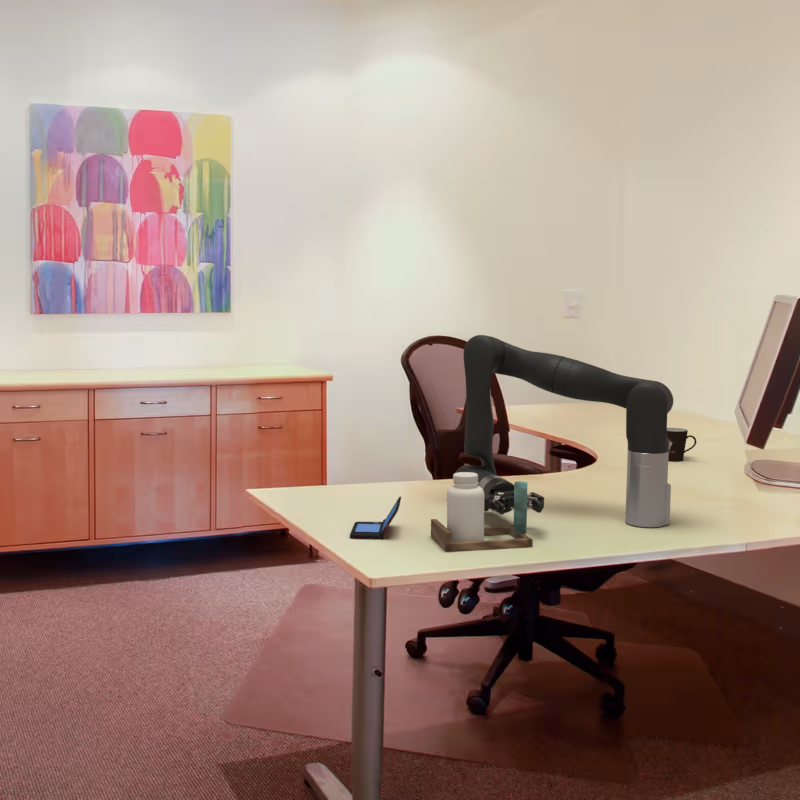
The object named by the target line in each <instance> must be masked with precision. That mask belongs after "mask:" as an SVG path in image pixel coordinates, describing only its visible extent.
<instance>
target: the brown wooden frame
mask: <svg viewBox="0 0 800 800" xmlns="http://www.w3.org/2000/svg"><path fill="white" fill-rule="evenodd" d="M513 484H514V509H513V525H500V526H484V537H486V536H487V537H488V536H502V535H504V536H505V535H510V536H511V537H512V538H508V539H505V538H504V539H494V540H493V539H492V540H491V539H489V540H487V539H486V540H484V541H469V542H452V532H451V531H449V530H448V529H447V526H445V525H444V524H442V522H441V521H439V519H437V518H433V519H432V518H431V519H430V538H431V539H432V540H433V541H434V542H435V543H437V545H438V546H439V547H441V549H443V551H445V553H450V552H467V551H468V552H469V551H483V550H484V551H485V550H501V549H505V550H506V549H518V548H533V547H534V546H533V543H534V542H533V541H534V540H533V538H531V537H530V536H529V535H527V530H528V528H527V527H528V524H527V523H528V522H527V521H528V519H527V518H528V509H527V494H528V482H527V481H514V483H513Z"/></svg>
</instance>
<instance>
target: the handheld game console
mask: <svg viewBox="0 0 800 800" xmlns="http://www.w3.org/2000/svg"><path fill="white" fill-rule="evenodd" d="M401 500H402V496H399V497H398V498H397V500H396V501H395V503H394V505H393V506H392V508H391V510H390V511H389V513H388V514H387V516H386V518H384V519H382V521H355V522H354V524H353V526H352V529H351V531H350V533H349V538H350V539H351V540H384V537H385V532H386V531H387V529H388V527H389V526H390V524H391V522H392V521H393V519H394V518H395V516H396V515H397V514H398V512H399V509H400V506H401V505H400V504H401Z"/></svg>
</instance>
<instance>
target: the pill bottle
mask: <svg viewBox="0 0 800 800" xmlns="http://www.w3.org/2000/svg"><path fill="white" fill-rule="evenodd" d="M452 481H453V485H452V486H450V487H449V488H448V489H447V494H446V528H447V529H448V530H449V531H451V532H452V542H469V541H485V536H484V527H485V511H484V491H483V489H482V488H481V487H479V486H477V484H478V482H477V481H478V474H476V473H472V472H459V473H456V472H454V473H453V475H452Z"/></svg>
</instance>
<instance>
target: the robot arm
mask: <svg viewBox="0 0 800 800" xmlns="http://www.w3.org/2000/svg"><path fill="white" fill-rule="evenodd" d="M463 366H464V367H463V368H464V376H465V377H464V378H465V394H466V395H465V396H466V397H465V398H466V399H465V400H466V407H465V408H466V411H465V412H466V415H465V426H464V427H465V429H464V445H463V448H464V449H463V451H464V454H466V455H467V456H471V457H475V458H478V459H479V461H480V462H481V465H462V466H460V467H459V468H458V469H457V470H456V471H455V473H459V472H472V473H476V474H478V481H477V482H478V484H477V486H479V487H481V488H482V489H483V491H484V512H488V511H489V510H491V512H496V513H498V514H499V515H505V514H507V513H509V512H512V511H514V483H513V482H511V481H509V480H507V479H506V478H503V477H501V476H499V475H497V470H496V466H495V465H496V464H495V461H494V453H493V441H494V429H495V428H494V424H495V423H494V415H493V407H492V400H491V381H492V376H493V374H497V375H503V376H507V377H512V378H516V379H520V380H522V381H524V382H527V383H528V384H531V385H533V386H535V387H537V388H539V389H541V390H544V391H546V392H549V393H552V394H555V395H558V396H562V397H565V398H568V399H573V400H579V401H587V402H597V403H606V404H610V405H614V406H618V407H620V408H623V409H625V412H626V413H625V416H626V417H625V436H626V441H627V459H626V463H627V464H626V486H625V487H626V488H625V489H626V490H625V512H624V515H625V519H624V520H625V523H626V524H628V525H631V526H635V527H642V528H659V527H661V528H662V527H664V526H667V525H668V526H669V525H670V524H671V523H670V521H671V518H670V516H671V495H672V494H671V493H672V485H671V484H670V483H668V480H669V479H668V477H669V476H668V474H669V461H668V454H669V452H668V451H669V440H668V437H667V428H668V414H669V413H670V411H671V410H672V408H673V405H674V395H673V393H672V391H671V390H670V388H669V387H668V386H667V385H665V384H664V383H662V382H660V381H657V380H651V379H644V378H638V377H632V376H626V375H623V374H619V373H616V372H612V371H610V370H607V369H604V368H602V367H599V366H596V365H593V364H591V363H586V362H583V361H581V360H578V359H575V358H571V357H567V356H563V355H558V354H553V353H547V352H541V351H532V350H529V349H524V348H521V347H519V346H516V345H513V344H511V343H508V342H506V341H503V340H501V339H499V338H496V337H494V336H492V335H491V336H490V335H484V334H477V335H474V336H472V337H471V338H469V339H468V340H467V342H466V343H465V346H464V348H463ZM530 509H531V510H532V511H535V512H536V513H542V511H543V509H545V497H544V496H543V495H540V494H538V493H536V492H534V491H532V492H529V494H528V493H527V510H530Z"/></svg>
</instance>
